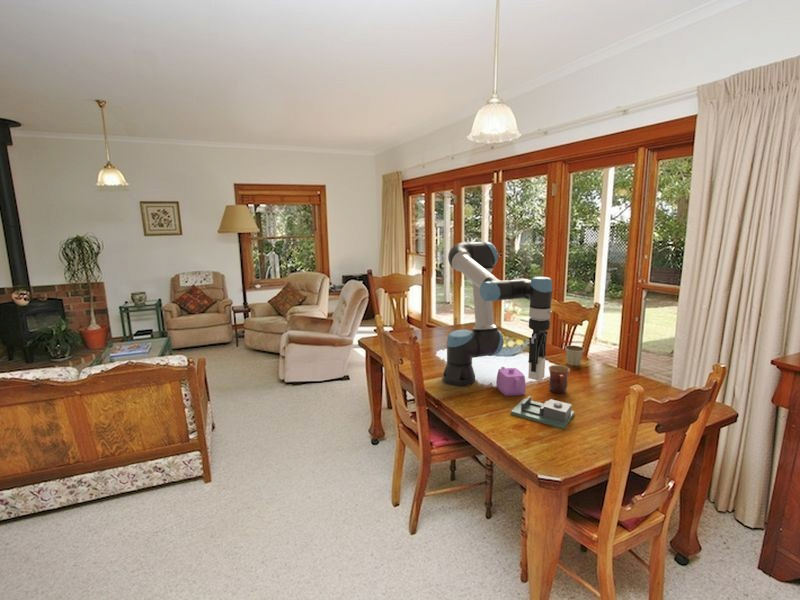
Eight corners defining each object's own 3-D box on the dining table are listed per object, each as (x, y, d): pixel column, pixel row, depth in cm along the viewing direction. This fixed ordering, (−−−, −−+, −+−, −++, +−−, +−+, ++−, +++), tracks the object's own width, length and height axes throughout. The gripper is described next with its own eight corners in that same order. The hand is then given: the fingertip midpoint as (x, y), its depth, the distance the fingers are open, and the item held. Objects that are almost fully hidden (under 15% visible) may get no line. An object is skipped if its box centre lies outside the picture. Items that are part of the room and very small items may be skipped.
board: (510, 414, 161) (511, 400, 160) (523, 401, 172) (524, 388, 171) (563, 429, 149) (565, 414, 148) (574, 414, 160) (575, 400, 159)
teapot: (491, 382, 191) (492, 362, 189) (513, 381, 192) (514, 360, 190) (506, 399, 174) (507, 376, 171) (530, 397, 175) (531, 375, 173)
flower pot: (566, 359, 220) (567, 344, 219) (585, 363, 215) (586, 347, 213) (561, 364, 213) (562, 348, 211) (580, 368, 208) (582, 352, 206)
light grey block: (528, 378, 159) (529, 357, 157) (532, 374, 162) (533, 354, 161) (540, 380, 156) (541, 360, 154) (544, 377, 159) (545, 356, 158)
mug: (545, 385, 187) (547, 364, 185) (566, 387, 185) (567, 365, 183) (549, 397, 175) (551, 374, 173) (571, 398, 174) (573, 375, 172)
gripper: (541, 324, 145) (538, 386, 150) (557, 315, 159) (553, 372, 164) (521, 321, 150) (518, 381, 154) (537, 312, 164) (534, 368, 168)
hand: (536, 376), depth 159 cm, fingers closed on light grey block, 5 cm apart
